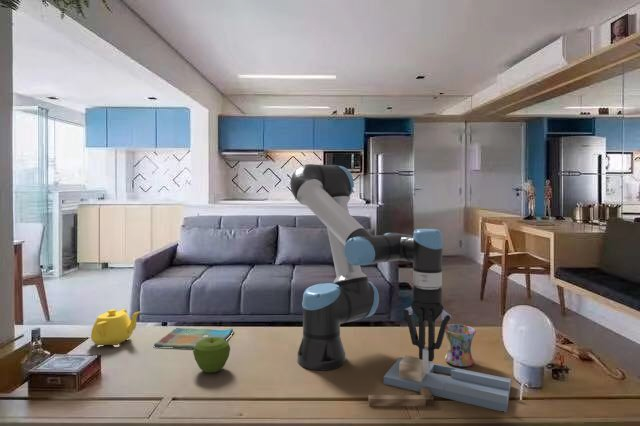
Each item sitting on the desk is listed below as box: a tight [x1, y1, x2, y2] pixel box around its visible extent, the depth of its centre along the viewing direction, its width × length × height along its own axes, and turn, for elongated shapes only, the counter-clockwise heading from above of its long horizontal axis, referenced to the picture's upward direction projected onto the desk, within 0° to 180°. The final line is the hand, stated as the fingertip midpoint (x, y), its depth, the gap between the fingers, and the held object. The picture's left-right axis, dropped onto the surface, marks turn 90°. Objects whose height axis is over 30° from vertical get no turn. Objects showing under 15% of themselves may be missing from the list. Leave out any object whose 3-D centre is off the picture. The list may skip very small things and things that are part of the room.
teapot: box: [90, 308, 141, 346], centre depth 142 cm, size 14×14×12 cm
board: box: [383, 356, 512, 413], centre depth 111 cm, size 31×15×4 cm, turn 61°
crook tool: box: [367, 387, 435, 407], centre depth 103 cm, size 16×6×2 cm, turn 89°
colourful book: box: [153, 327, 234, 350], centre depth 145 cm, size 17×23×2 cm
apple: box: [192, 337, 231, 374], centre depth 120 cm, size 11×10×10 cm
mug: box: [444, 323, 477, 367], centre depth 126 cm, size 12×9×11 cm
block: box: [399, 354, 426, 382], centre depth 112 cm, size 6×6×4 cm
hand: (426, 371), depth 110 cm, fingers closed
